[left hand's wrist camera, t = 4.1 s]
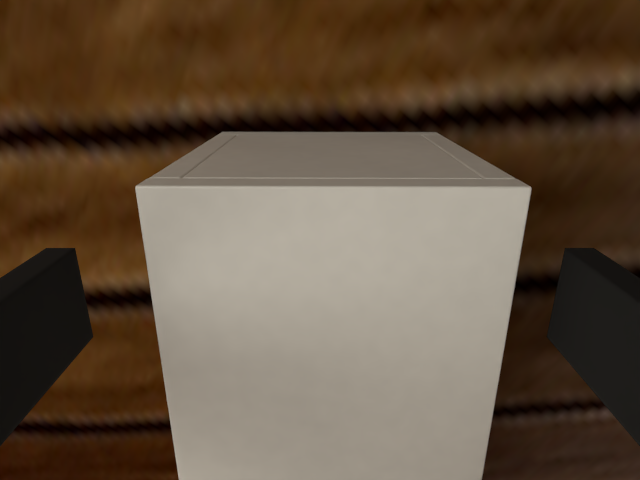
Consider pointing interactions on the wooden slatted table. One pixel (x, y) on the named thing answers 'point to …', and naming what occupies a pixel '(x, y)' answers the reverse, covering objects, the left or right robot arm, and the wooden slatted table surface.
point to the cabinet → (331, 303)
